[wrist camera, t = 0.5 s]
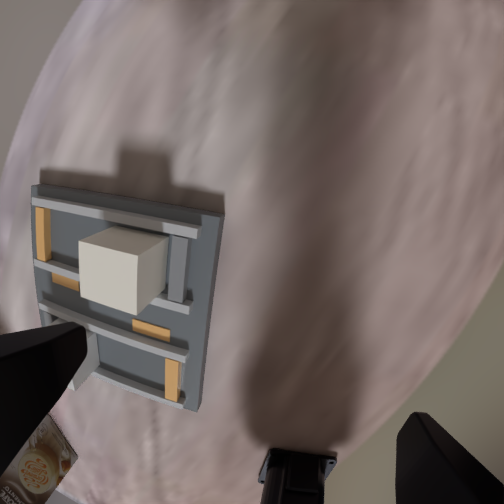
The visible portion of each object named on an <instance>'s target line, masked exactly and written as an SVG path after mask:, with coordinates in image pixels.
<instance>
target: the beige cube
mask: <svg viewBox="0 0 504 504" xmlns="http://www.w3.org/2000/svg"><path fill="white" fill-rule="evenodd" d="M168 243H169V237H167V236H162V235H157V234H153V233H148V232H143V231H139V230H134V229H129V228H124V227H120V226H113V227H111V228H108V229H106V230H103V231H101V232H98V233H96V234H94V235H91V236H89V237H86V238H84V239H81V240H79V277H80V293H81V297H83V298H86V299H88V300H91V301H94V302H97V303H100V304H103V305H106V306H109V307H112V308H115V309H118V310H121V311H124V312H127V313H130V314H133V315H136V316H137V315H138V314H139V313H140V312H141V311H142V310H143V309H144V308H145V307H146V306H147V305H148V304H149V303H150V302H151V301H152V300H153V299H155V298H156V297H157V296H158V295H159V294H160V293H161V292H162V291H163V290H164V289H165V283H166V268H167V255H168Z"/></svg>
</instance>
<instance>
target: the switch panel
mask: <svg viewBox="0 0 504 504" xmlns="http://www.w3.org/2000/svg"><path fill="white" fill-rule="evenodd" d="M224 217H225V214H221V213H216V212H210V211H205V210H199V209H194V208H188V207H183V206H177V205H172V204H166V203H160V202H154V201H148V200H143V199H137V198H131V197H125V196H118V195H112V194H106V193H100V192H93V191H87V190H80V189H73V188H67V187H60V186H53V185H46V184H38V185H32V186H31V230H32V250H33V264H34V274H35V284H36V292H37V299H38V306H39V313H40V319H41V325H42V327H45V326H48V325H50V324H51V323H52V322H54V321H55V320H56V319H58V318H61V319H64V320H66V321H68V322H71V321H73V322H76V323H78V324H81V325H83V326H84V327H85V329H88V330H90V331H93V332H95V333H96V335H97V344H98V353H99V361H100V365H99V366H98V367H97V368H96V369H95V370H94V371H93V372H92V374H91V375H92V376H94V377H96V378H99V379H101V380H103V381H106V382H108V383H110V384H113V385H115V386H118V387H120V388H123V389H125V390H128V391H130V392H133V393H136V394H138V395H141V396H144V397H146V398H149V399H152V400H155V401H158V402H161V403H164V404H167V405H170V406H173V407H176V408H179V409H182V410H183V408H184V409H188V410H191V411H194V412H197V411H198V409H199V407H200V405H201V400H202V390H203V381H204V372H205V363H206V354H207V345H208V337H209V328H210V320H211V312H212V304H213V296H214V289H215V281H216V273H217V266H218V259H219V252H220V244H221V237H222V230H223V224H224ZM113 226H120V227H124V228H129V229H134V230H139V231H143V232H148V233H153V234H157V235H162V236H167V237H169V243H168V255H167V268H166V283H165V289H164V290H163V291H162V292H161V293H160V294H159V295H158V296H157V297H156V298H155V299H153V300H152V301H151V302H150V303H149V304H148V305H147V306H146V307H145V308H144V309H143V310H142V311H141V312H140V313H139V314H138V315H137V316H136V315H133V314H130V313H127V312H124V311H121V310H118V309H115V308H112V307H109V306H106V305H103V304H100V303H97V302H94V301H91V300H88V299H86V298H83V297H81V293H80V277H79V240H81V239H84V238H86V237H89V236H91V235H94V234H96V233H98V232H101V231H103V230H106V229H108V228H111V227H113Z"/></svg>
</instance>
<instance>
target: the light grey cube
mask: <svg viewBox="0 0 504 504" xmlns="http://www.w3.org/2000/svg"><path fill="white" fill-rule="evenodd" d="M66 322H68V321H66V320H64V319H61V318H58V319H56V320H55V321H54V322H52V323H51V324H50V325H48V326H51V325H56V324H61V323H66ZM86 335H87V347H88V352H87V356H86V358H85V360H84V361H83V363H82V364H81V366H80V368H79V369H78V371H77V372H76V374H75V375H74V377H73V379H72V380H71V382H70V383H69V385H68V388H70V389H72V390H74V391H76V390H77V389H78V387H79V386H80V385H81V384H82V383H83V382H84V381H85V380H86V379H87V378H88V377H89V376H90V375H91V374H92V372H93V371H94V370H95V369H96V368H97V367H98V366H99V365H100V361H99V353H98V344H97V335H96V333H95V332H93V331H90V330H88V329H86Z"/></svg>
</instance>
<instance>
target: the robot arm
mask: <svg viewBox="0 0 504 504" xmlns="http://www.w3.org/2000/svg"><path fill="white" fill-rule="evenodd" d="M87 352H88V347H87V335H86V329H85V327H84V326H83V325H81V324H78V323H76V322H73V321H71V322H66V323H61V324H56V325H51V326H45V327H40V328H35V329H30V330H25V331H19V332H14V333H8V334H3V335H0V478H1V476H2V475H3V473H4V472H5V471H6V469H7V468H8V466H9V465H10V463H11V462H12V461H13V459H14V458H15V457H16V455H17V454H18V452H19V451H20V450H21V448H22V447H23V446H24V444H25V443H26V442H27V440H28V439H29V438H30V436H31V435H32V434H33V432H34V431H35V430H36V428H37V427H38V426H39V424H40V423H41V422H42V420H43V419H44V418H45V417H46V415H47V414H48V413H49V411H50V410H51V409H52V408H53V406H54V405H55V404H56V402H57V401H58V400H59V398H60V397H61V396H62V394H63V393H64V391H65V390H66V388H67V387H68V385H69V383H70V382H71V380H72V379H73V377H74V375H75V374H76V372H77V371H78V369H79V368H80V366H81V364H82V363H83V361H84V360H85V358H86V356H87ZM396 445H397V447H396V451H397V452H396V478H395V489H396V504H504V485H503V484H502V483H501V482H500V481H499V480H498V479H497V478H496V477H495V476H494V475H493V474H492V473H491V472H489V470H487V469H486V468H485V467H484V466H483V465H482V464H481V463H480V462H479V461H478V460H477V459H476V458H475V457H473V456H472V455H471V454H470V453H469V452H468V451H467V450H466V449H465V448H464V447H463V446H462V445H461V444H460V443H458V441H456V440H455V439H454V438H453V437H452V436H451V435H450V434H449V433H448V432H447V431H446V430H445V429H444V428H443V427H441V426H440V425H439V424H438V423H437V422H436V421H435V420H434V419H433V418H432V417H431V416H430V415H429V414H427V413H424V412H414V413H412V414H411V415H410V416H409V418H408V419H407V421H406V422H405V424H404V425H403V427H402V428H401V430H400V431H399V433H398V435H397V444H396ZM336 463H337V458H335V457H330V456H321V455H313V454H305V453H298V452H292V451H285V450H280V449H270V450H269V453H268V455H267V458H266V460H265V463H264V466H263V468H262V471H261V473H260V476H259V478H258V482H259V483H261V484H264V488H263V493H262V498H261V503H260V504H324V486H325V485H324V483H325V480H326V478H327V477H328V475H329V474H330V472H331V471H332V469H333V468H334V466H335V465H336Z"/></svg>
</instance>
